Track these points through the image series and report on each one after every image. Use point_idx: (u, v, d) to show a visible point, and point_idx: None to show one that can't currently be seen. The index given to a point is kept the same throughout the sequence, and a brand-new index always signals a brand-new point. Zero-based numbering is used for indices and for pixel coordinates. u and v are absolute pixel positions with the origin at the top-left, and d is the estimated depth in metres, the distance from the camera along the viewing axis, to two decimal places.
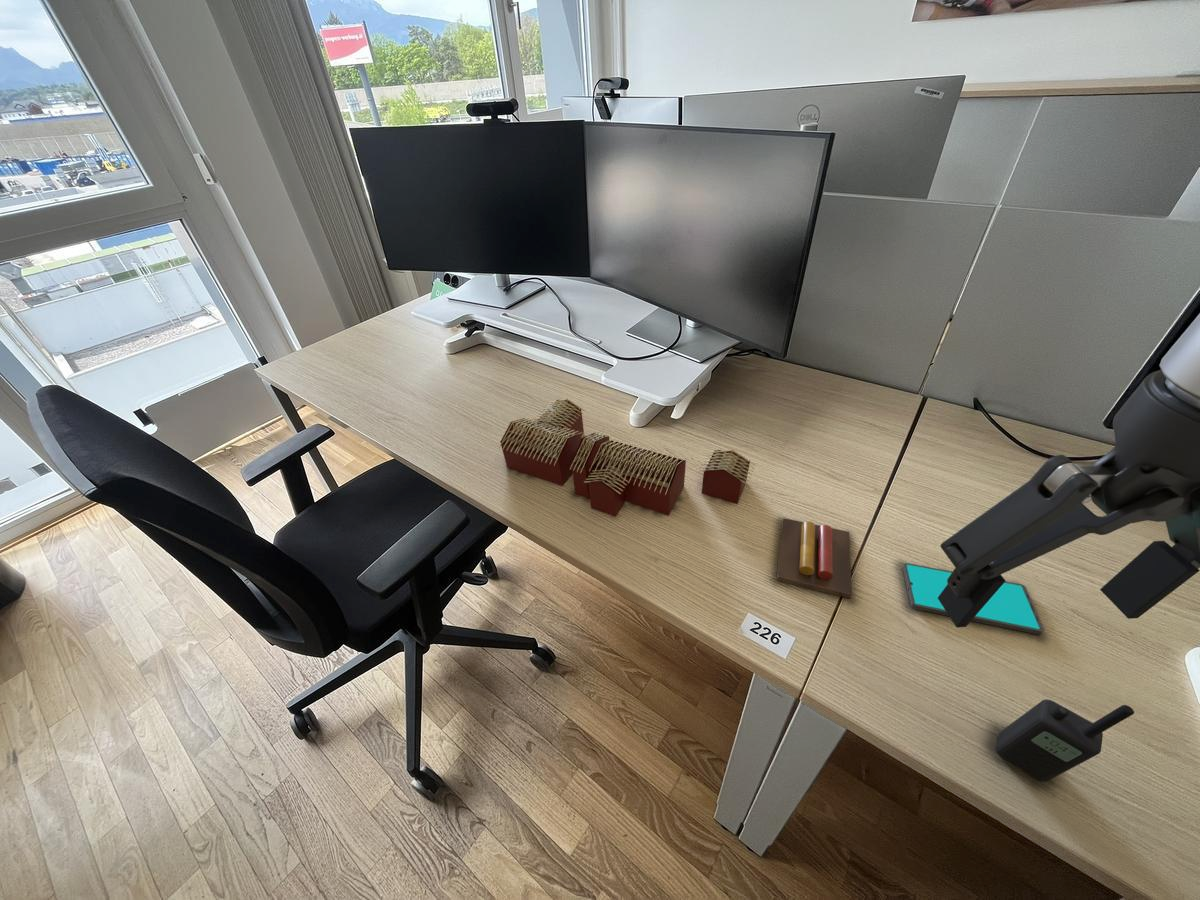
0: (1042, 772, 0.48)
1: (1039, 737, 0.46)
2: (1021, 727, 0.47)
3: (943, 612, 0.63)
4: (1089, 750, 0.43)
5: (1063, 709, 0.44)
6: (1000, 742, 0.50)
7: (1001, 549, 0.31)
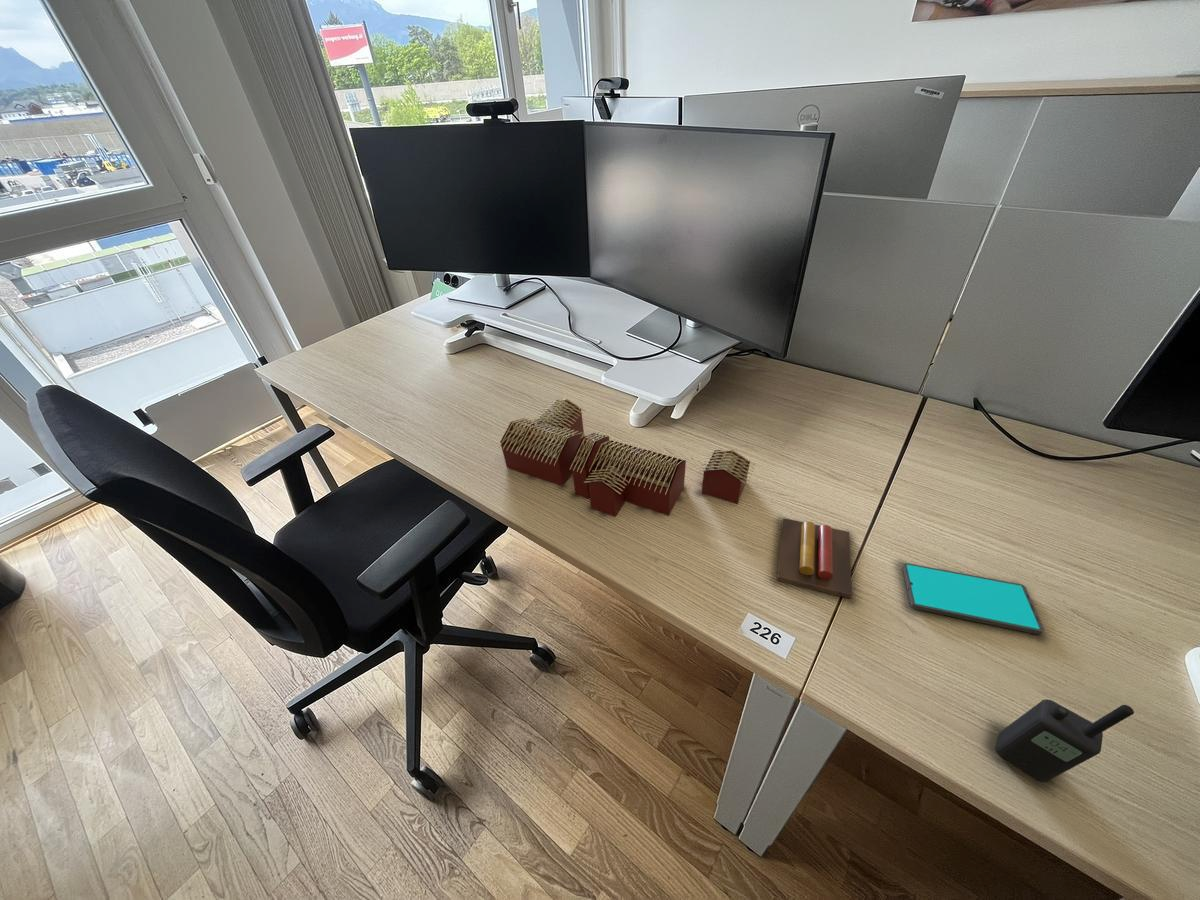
0: (1042, 772, 0.48)
1: (1039, 737, 0.46)
2: (1021, 727, 0.47)
3: (943, 612, 0.63)
4: (1089, 750, 0.43)
5: (1063, 709, 0.44)
6: (1000, 742, 0.50)
7: None
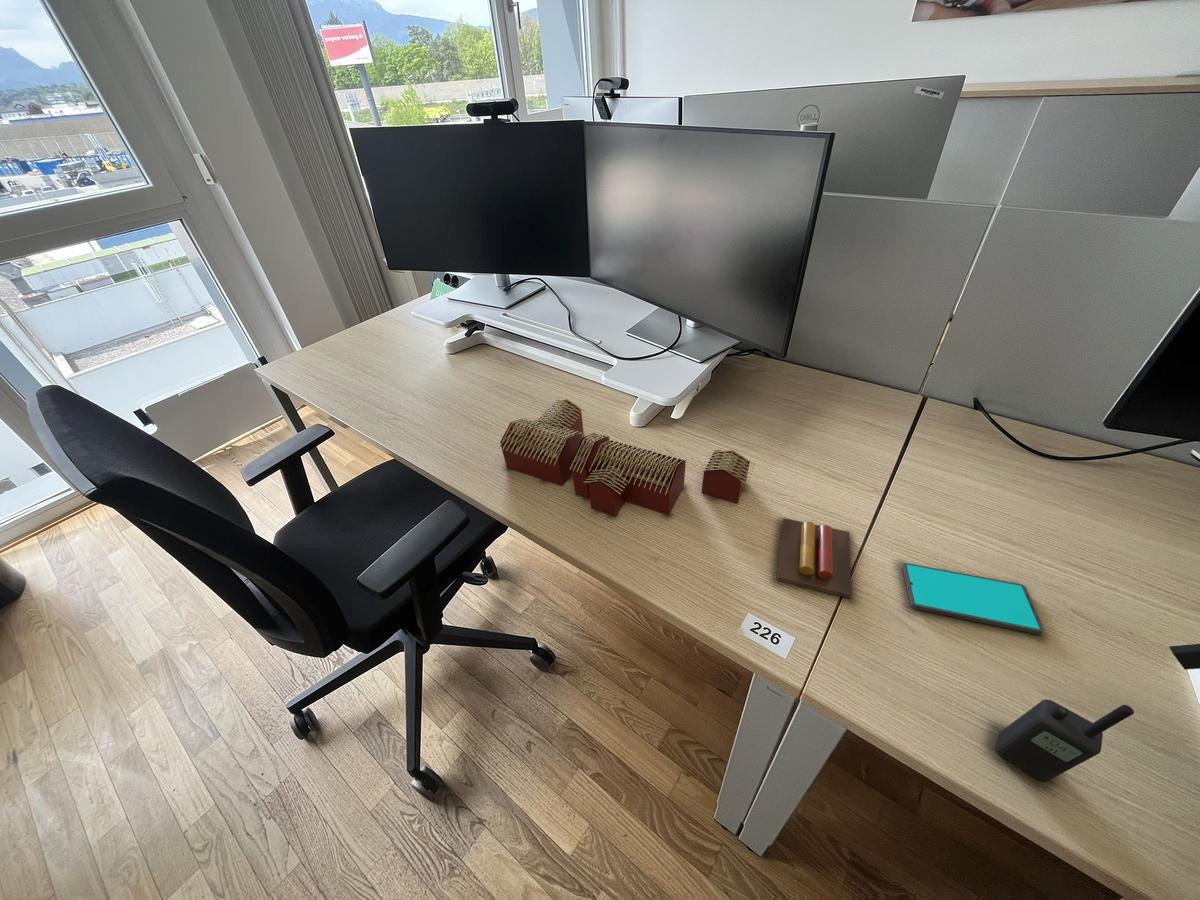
0: (1042, 772, 0.48)
1: (1039, 737, 0.46)
2: (1021, 727, 0.47)
3: (943, 612, 0.63)
4: (1089, 750, 0.43)
5: (1063, 709, 0.44)
6: (1000, 742, 0.50)
7: None
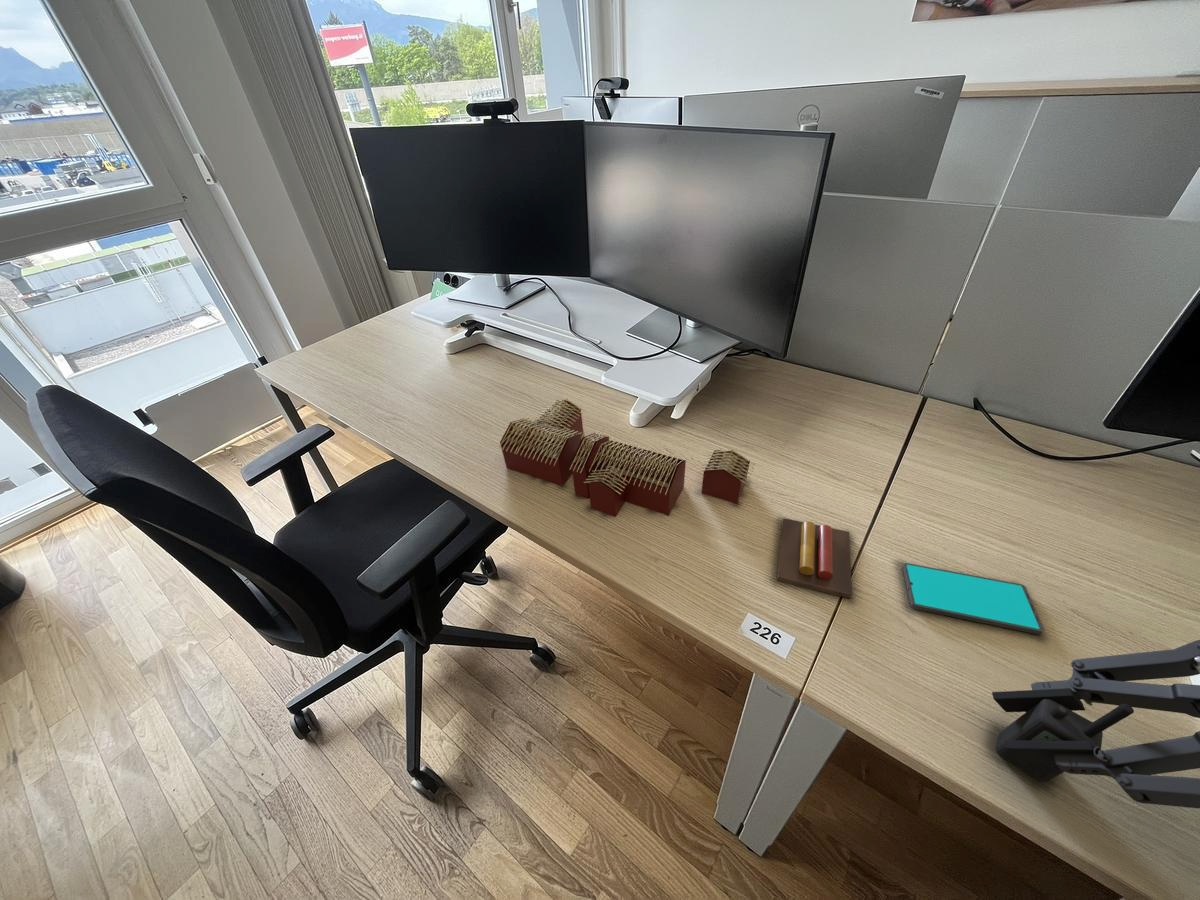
0: (1042, 772, 0.48)
1: (1039, 737, 0.46)
2: (1021, 726, 0.47)
3: (943, 612, 0.63)
4: None
5: (1063, 708, 0.44)
6: (1000, 742, 0.50)
7: (1114, 660, 0.45)
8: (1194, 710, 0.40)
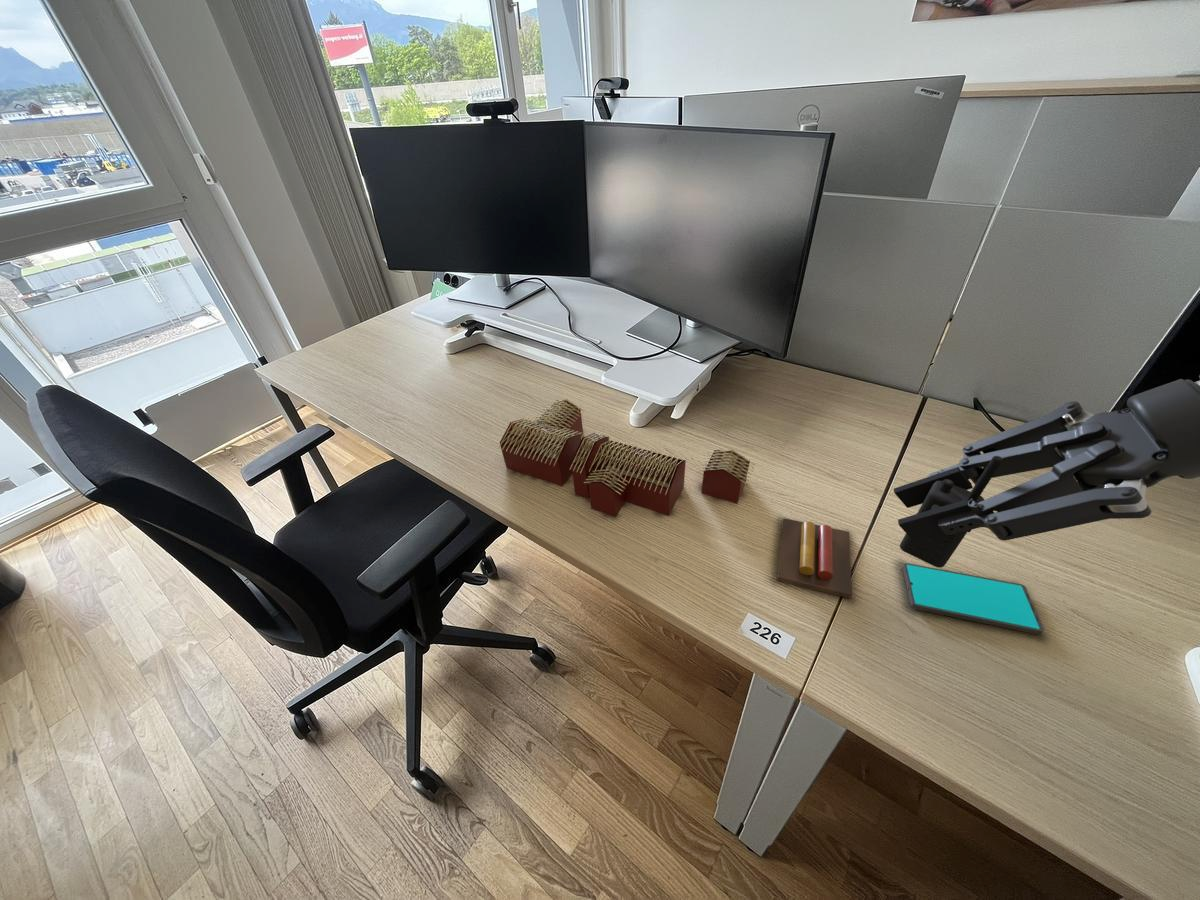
0: (937, 556, 0.51)
1: None
2: None
3: (943, 612, 0.63)
4: None
5: (949, 481, 0.47)
6: (903, 538, 0.53)
7: (997, 437, 0.48)
8: (1059, 459, 0.43)
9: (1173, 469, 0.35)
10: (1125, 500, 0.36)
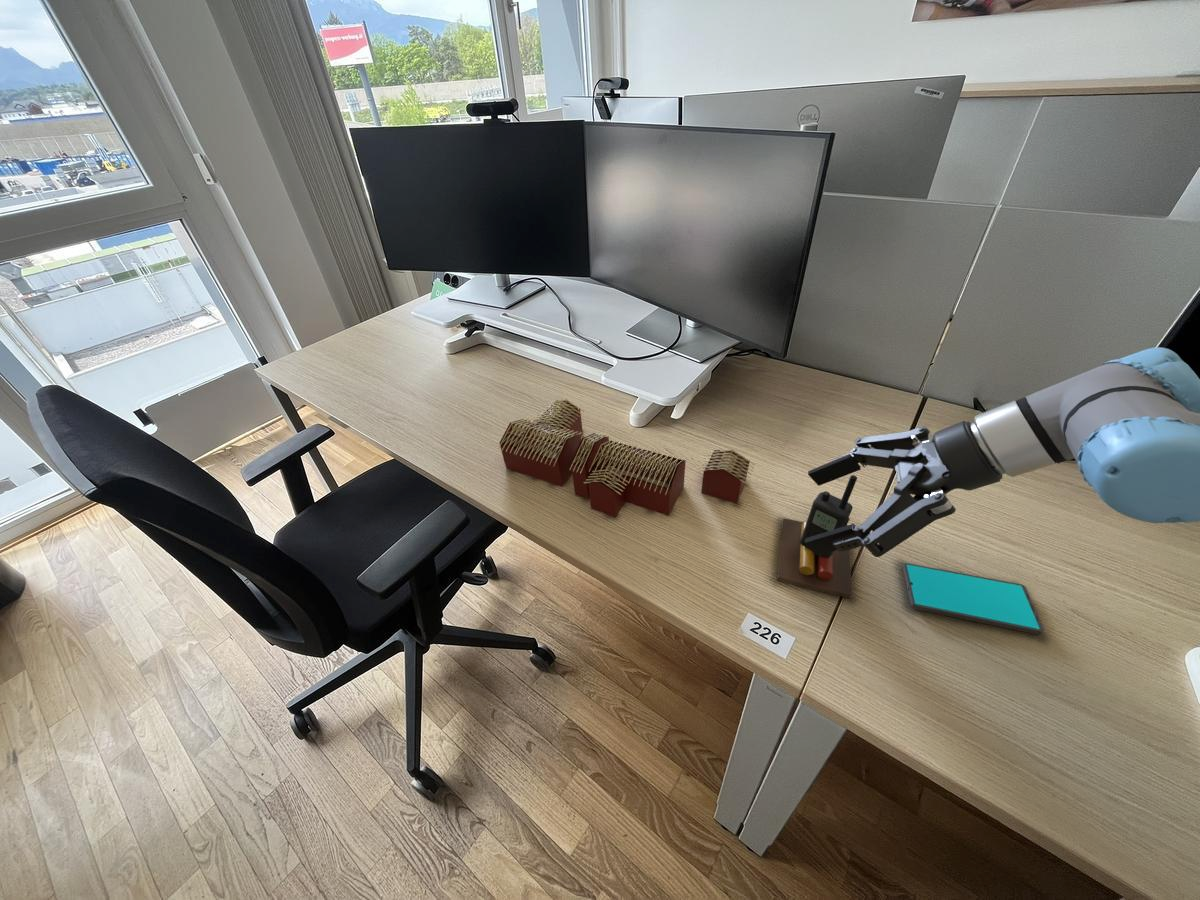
0: None
1: (815, 517, 0.65)
2: None
3: (943, 612, 0.63)
4: (839, 516, 0.62)
5: (827, 492, 0.64)
6: None
7: (875, 438, 0.64)
8: None
9: (954, 484, 0.52)
10: (939, 502, 0.50)
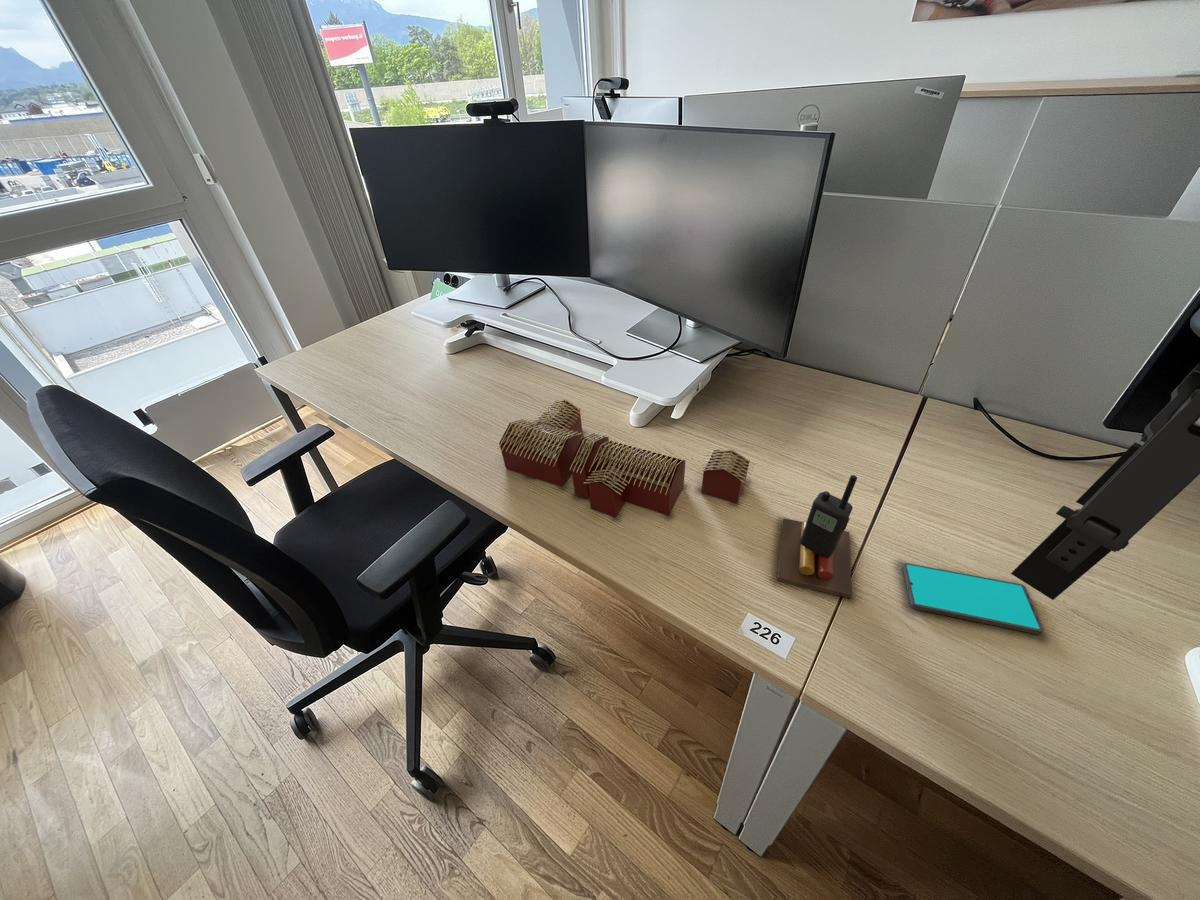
0: (824, 548, 0.67)
1: (815, 517, 0.65)
2: None
3: (943, 612, 0.63)
4: (839, 516, 0.62)
5: (827, 492, 0.64)
6: None
7: None
8: None
9: None
10: None
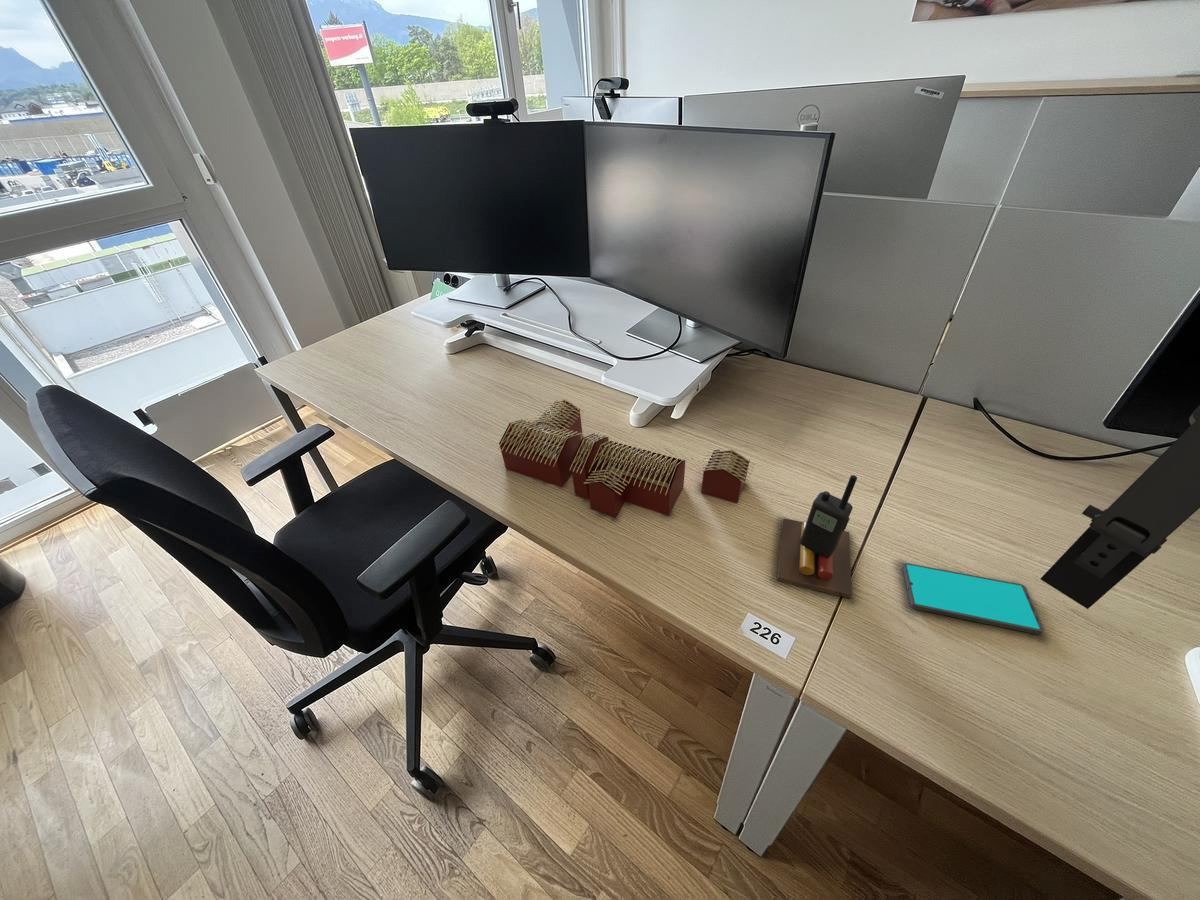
0: (824, 548, 0.67)
1: (815, 517, 0.65)
2: None
3: (943, 612, 0.63)
4: (839, 516, 0.62)
5: (827, 492, 0.64)
6: None
7: None
8: None
9: None
10: None
